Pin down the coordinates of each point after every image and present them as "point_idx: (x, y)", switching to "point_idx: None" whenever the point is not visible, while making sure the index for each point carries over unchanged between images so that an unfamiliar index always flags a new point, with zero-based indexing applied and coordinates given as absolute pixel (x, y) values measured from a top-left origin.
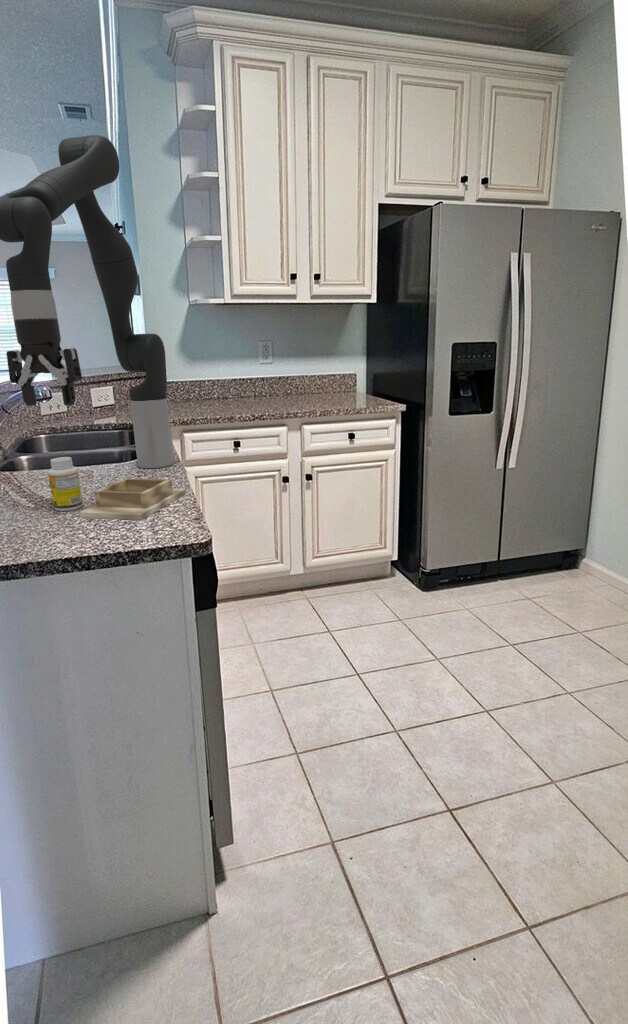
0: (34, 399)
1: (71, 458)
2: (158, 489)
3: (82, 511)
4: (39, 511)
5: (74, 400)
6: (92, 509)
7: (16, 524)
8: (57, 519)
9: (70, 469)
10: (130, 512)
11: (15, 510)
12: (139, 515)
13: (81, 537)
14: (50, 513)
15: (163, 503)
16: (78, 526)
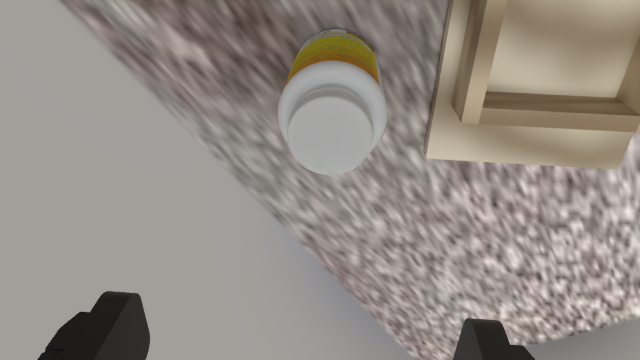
0: (120, 331)
1: (368, 118)
2: None
3: (429, 151)
4: (266, 109)
5: (526, 358)
6: (452, 133)
7: (287, 209)
8: (367, 170)
9: (377, 136)
10: (581, 152)
11: (185, 105)
12: (612, 167)
13: (495, 271)
14: None
15: None
16: (453, 213)
